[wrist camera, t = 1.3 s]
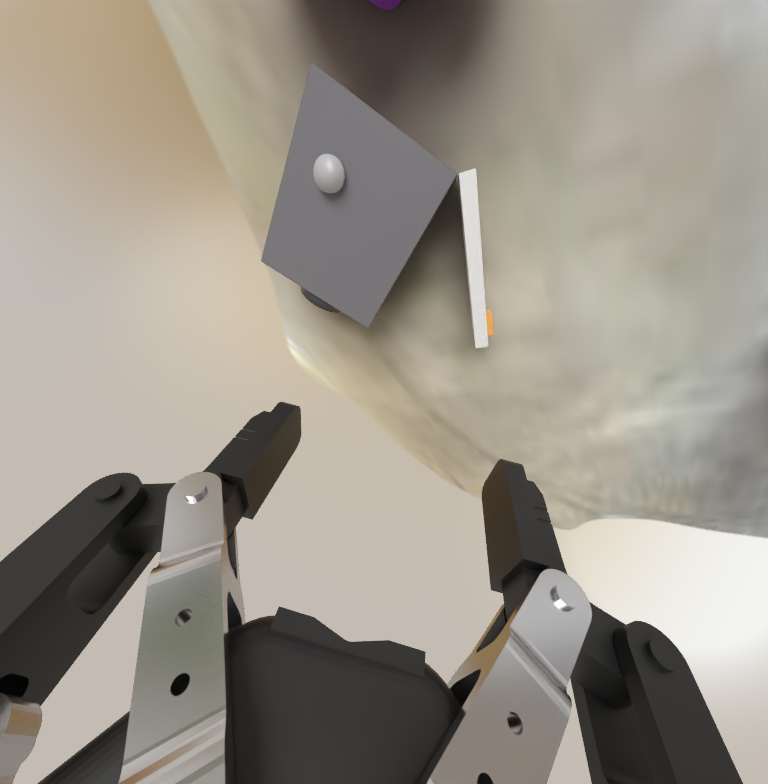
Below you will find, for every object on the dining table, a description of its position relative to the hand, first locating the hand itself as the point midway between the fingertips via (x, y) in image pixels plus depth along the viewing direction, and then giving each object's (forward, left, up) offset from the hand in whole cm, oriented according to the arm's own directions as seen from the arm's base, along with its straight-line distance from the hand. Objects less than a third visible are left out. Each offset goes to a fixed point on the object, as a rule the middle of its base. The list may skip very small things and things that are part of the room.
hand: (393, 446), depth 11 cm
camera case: (+9, -3, -20) cm, 22 cm away
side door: (-1, -5, -20) cm, 21 cm away
